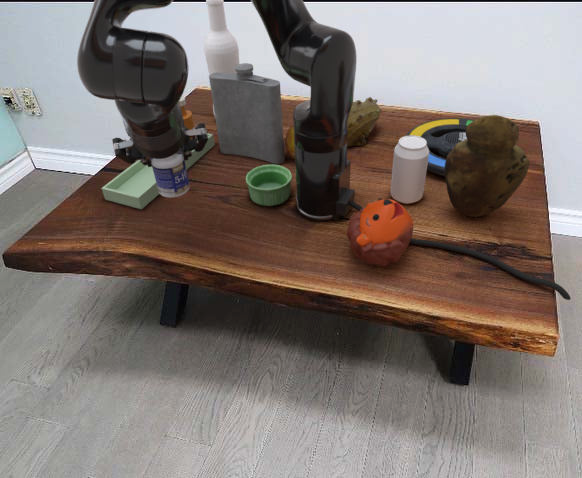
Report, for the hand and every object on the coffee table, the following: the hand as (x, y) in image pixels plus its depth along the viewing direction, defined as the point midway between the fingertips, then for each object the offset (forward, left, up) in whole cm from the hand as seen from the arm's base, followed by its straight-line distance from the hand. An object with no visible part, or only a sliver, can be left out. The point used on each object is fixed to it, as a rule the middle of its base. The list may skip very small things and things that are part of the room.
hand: (167, 157), depth 83 cm
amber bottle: (+16, -25, -14) cm, 33 cm away
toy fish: (-35, -7, -15) cm, 39 cm away
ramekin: (-10, -16, -15) cm, 24 cm away
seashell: (-17, -45, -15) cm, 50 cm away
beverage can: (-35, -25, -15) cm, 45 cm away
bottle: (+15, -43, -15) cm, 48 cm away
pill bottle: (-1, +1, -5) cm, 6 cm away
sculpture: (-48, -24, -15) cm, 56 cm away
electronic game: (-41, -44, -15) cm, 62 cm away
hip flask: (+1, -29, -15) cm, 33 cm away
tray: (+16, -16, -15) cm, 27 cm away
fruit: (-11, -32, -15) cm, 37 cm away
